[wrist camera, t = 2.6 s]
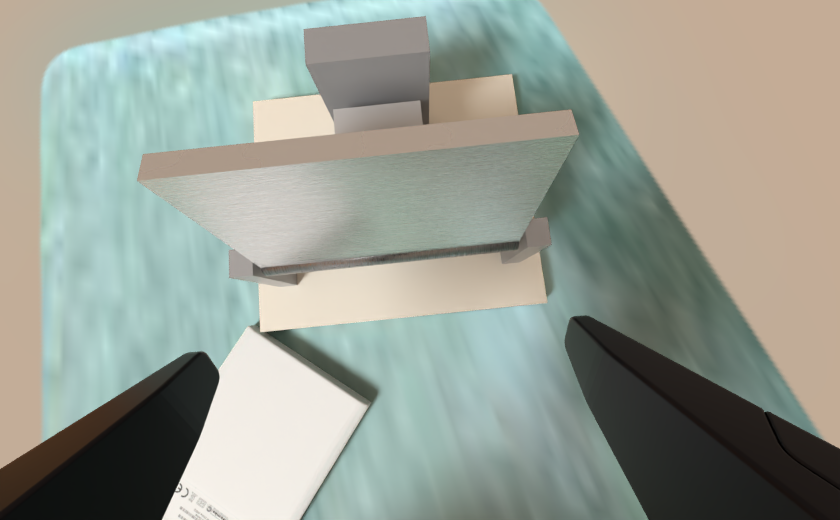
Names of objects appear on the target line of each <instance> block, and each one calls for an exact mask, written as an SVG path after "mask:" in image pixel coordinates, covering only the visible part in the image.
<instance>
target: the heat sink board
mask: <svg viewBox="0 0 840 520" xmlns="http://www.w3.org/2000/svg"><path fill="white" fill-rule="evenodd" d="M304 44H305V61H306V66H307V68H308V70H309V72H310V74H311V76H312V78H313V81H314V83H315V85H316V87H317V89H318V91H319V93H320V94H319V95H310V96H300V97H291V98H281V99H272V100H262V101H253V115H254V143H255V142H265V141H274V140H284V139H293V138H303V137H312V136H322V135H332V134H341V133H351V132H360V131H370V130H379V129H389V128H399V127H408V126H418V125H427V124H437V123H446V122H456V121H465V120H475V119H485V118H494V117H504V116H513V115H518V110H517V104H516V97H515V91H514V85H513V78H512V74H510V75H500V76H491V77H481V78H472V79H462V80H453V81H443V82H434V83H429V81H430V49H429V40H428V32H427V23H426V16H424V17H414V18H405V19H395V20H386V21H377V22H367V23H358V24H348V25H339V26H329V27H320V28H310V29H304ZM550 245H552V244H551V238H550V231H549V225H548V219H547V217H544V218H534V216H533V218H532V220H531V221H530V223H529V225H528V227H527V228H526V230H525V232H524V234H523V236H522V237H521V239H520V241H519V248H518V250H517V251H509V252H500V253H490V254H480V255H471V256H461V257H451V258H441V259H432V260H422V261H412V262H403V263H393V264H383V265H373V266H364V267H354V268H344V269H335V270H325V271H315V272H305V273H296V274H286V275H276V276H265V275H264V274H263V273H262V270H261V268H260V267H259V266H257V265H256V264H254V263H253V262H251V261H250V260H249V259H247V258H246V257H244V256H243V255H241V254H240V253H239V252H237V251H236V250H229V278H232V279H238V280H243V281H249V282H255V283H259V311H260V332H267V331H277V330H287V329H297V328H306V327H316V326H326V325H336V324H346V323H355V322H365V321H375V320H385V319H394V318H404V317H414V316H424V315H433V314H443V313H453V312H463V311H473V310H482V309H492V308H502V307H512V306H521V305H531V304H541V303H547V296H546V290H545V284H544V277H543V271H542V264H541V258H540V252H539V251H541V250H543V249H545V248H547V247H549V246H550Z"/></svg>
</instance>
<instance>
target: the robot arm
mask: <svg viewBox="0 0 840 520" xmlns="http://www.w3.org/2000/svg"><path fill="white" fill-rule="evenodd" d="M565 348H566V351H567V354H568V356H569V359H570V361H571V364H572V366H573V369H574V371H575V374H576V377H577V379H578V382H579V384H580V387H581V389H582V392H583V394H584V397H585V399H586V402H587V404H588V406H589V408H590V410H591V412H592V413H593V415H594V417H595V419H596V421H597V423H598V425H599V427H600V429H601V430H602V432H603V434H604V436H605V438H606V440H607V442H608V444H609V446H610V447H611V449H612V451H613V453H614V455H615V457H616V459H617V461H618V463H619V464H620V466H621V468H622V470H623V472H624V474H625V476H626V478H627V479H628V481H629V483H630V485H631V487H632V489H633V491H634V493H635V495H636V496H637V498H638V500H639V502H640V504H641V506H642V508H643V510H644V512H645V513H646V515H647V517H648V519H649V520H840V449H839V448H837V447H835V446H834V445H832V444H830V443H828V442H826V441H824V440H822V439H820V438H818V437H816V436H814V435H812V434H810V433H808V432H807V431H805V430H803V429H801V428H799V427H797V426H795V425H793V424H791V423H789V422H787V421H786V420H784V419H782V418H780V417H778V416H776V415H774V414H772V413H771V412H764V410H763V409H762V408H760V407H758V406H756V405H754V404H752V403H751V402H749V401H747V400H745V399H743V398H741V397H739V396H738V395H736V394H734V393H732V392H730V391H728V390H726V389H724V388H723V387H721V386H719V385H717V384H715V383H713V382H711V381H710V380H708V379H706V378H704V377H702V376H700V375H698V374H696V373H695V372H693V371H691V370H689V369H687V368H685V367H683V366H681V365H680V364H678V363H676V362H674V361H672V360H670V359H668V358H667V357H665V356H663V355H661V354H659V353H657V352H655V351H653V350H652V349H650V348H648V347H646V346H644V345H642V344H640V343H639V342H637V341H635V340H633V339H631V338H629V337H627V336H625V335H624V334H622V333H620V332H618V331H616V330H614V329H612V328H611V327H609V326H607V325H605V324H603V323H601V322H599V321H597V320H596V319H594V318H592V317H590V316H586V315H585V316H574V317H571V318H570V320H569V324H568V328H567V332H566V336H565ZM219 379H220V376H219V371H218V369H217V368H216V366H215V365H214V364H213V362H212V361H211V359H210V358H209V356H208V355H207V354H206V353H205V352H202V351H199V352H189V353H186V354H184V355H182V356H180V357H179V358H177V359H176V360H174V361H172V362H171V363H169V364H168V365H166V366H164V367H163V368H161V369H160V370H158V371H156V372H155V373H153V374H152V375H150V376H148V377H147V378H145V379H144V380H142V381H140V382H139V383H137V384H136V385H134V386H132V387H131V388H129V389H128V390H126V391H124V392H123V393H121V394H120V395H118V396H116V397H115V398H113V399H112V400H110V401H108V402H107V403H105V404H104V405H102V406H100V407H99V408H97V409H96V410H94V411H92V412H91V413H89V414H88V415H86V416H84V417H83V418H81V419H80V420H78V421H76V422H75V423H73V424H72V425H70V426H68V427H67V428H65V429H64V430H62V431H60V432H59V433H57V434H56V435H54V436H52V437H51V438H49V439H48V440H46V441H44V442H43V443H41V444H40V445H38V446H36V447H35V448H33V449H32V450H30V451H28V452H27V453H25V454H24V455H22V456H20V457H19V458H17V459H16V460H14V461H12V462H11V463H9V464H8V465H6V466H4V467H3V468H1V469H0V520H162V519H163V517H164V514H165V512H166V510H167V508H168V506H169V504H170V501H171V499H172V497H173V495H174V493H175V491H176V488H177V486H178V484H179V482H180V480H181V478H182V475H183V473H184V471H185V469H186V467H187V465H188V462H189V460H190V458H191V456H192V454H193V452H194V449H195V447H196V445H197V443H198V440H199V438H200V436H201V433H202V430H203V428H204V425H205V422H206V419H207V416H208V413H209V410H210V407H211V404H212V401H213V398H214V396H215V393H216V390H217V387H218V384H219Z"/></svg>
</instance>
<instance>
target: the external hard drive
mask: <svg viewBox="0 0 840 520" xmlns="http://www.w3.org/2000/svg"><path fill="white" fill-rule="evenodd" d="M218 371H219V376H220V379H219V384H218V387H217V390H216V393H215V396H214V398H213V401H212V404H211V407H210V410H209V413H208V416H207V419H206V422H205V425H204V428H203V430H202V433H201V436H200V438H199V440H198V443H197V445H196V447H195V449H194V452H193V454H192V456H191V458H190V460H189V462H188V465H187V467H186V469H185V471H184V473H183V475H182V478H181V480H180V482H179V484H178V486H177V488H176V491H175V493H174V495H173V497H172V499H171V501H170V504H169V506H168V508H167V510H166V512H165V514H164V517H163V519H162V520H300V519H301V517H302V516H303V514H304V512H305V511H306V509H307V507H308V506H309V504H310V502H311V501H312V499H313V497H314V496H315V494H316V493H317V491H318V489H319V488H320V486H321V484H322V483H323V481H324V479H325V478H326V476H327V475H328V473H329V471H330V470H331V468H332V466H333V465H334V463H335V461H336V460H337V458H338V456H339V455H340V453H341V452H342V450H343V448H344V447H345V445H346V443H347V442H348V440H349V438H350V437H351V435H352V433H353V432H354V430H355V429H356V427H357V425H358V424H359V422H360V420H361V419H362V417H363V415H364V414H365V412H366V410H367V409H368V407H369V405H370V404H371V402H370V401H369V400H367V399H366V398H364V397H363V396H361V395H360V394H358V393H357V392H355V391H354V390H352V389H350V388H349V387H347V386H346V385H344V384H343V383H341V382H340V381H338V380H337V379H335V378H334V377H332V376H331V375H329V374H328V373H326V372H325V371H323V370H322V369H320V368H319V367H317V366H316V365H314V364H313V363H311V362H310V361H308V360H307V359H305V358H304V357H302V356H301V355H299V354H298V353H296V352H295V351H293V350H292V349H290V348H289V347H287V346H286V345H284V344H283V343H281V342H280V341H278V340H277V339H275V338H274V337H272V336H271V335H269V334H268V333H266V332H260V328H259V327H257V326H256V325H252V326H248V327H247V328H246V330H245V331H244V333H243V334H242V336H241V337H240V339H239V340H238V342H237V343H236V344H235V346H234V347H233V349H232V350H231V352H230V354H229V355H228V357H227V358H226V360H225V361H224V363H223V364H222V365H221V367H220V368H219V370H218Z"/></svg>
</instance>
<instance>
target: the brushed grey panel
mask: <svg viewBox="0 0 840 520" xmlns="http://www.w3.org/2000/svg"><path fill="white" fill-rule="evenodd" d="M578 136H579V132H578V129H577V126H576V123H575V119H574V116H573V113H572V110H561V111H551V112H542V113H532V114H523V115H513V116H504V117H494V118H485V119H475V120H465V121H456V122H446V123H437V124H427V125H418V126H408V127H399V128H389V129H379V130H370V131H360V132H351V133H341V134H332V135H322V136H312V137H303V138H293V139H284V140H274V141H265V142H255V143H246V144H236V145H226V146H217V147H207V148H198V149H188V150H179V151H169V152H160V153H150V154H143V156H142V161H141V165H140V169H139V174H138V178H137V181H138V182H139V183H141V184H142V185H144V186H145V187H146V188H148V189H149V190H151V191H152V192H153V193H155V194H156V195H158V196H159V197H161V198H162V199H163V200H165V201H166V202H168V203H169V204H171V205H172V206H173V207H175V208H176V209H178V210H179V211H180V212H182V213H183V214H185V215H186V216H188V217H189V218H190V219H192V220H193V221H195V222H196V223H197V224H199V225H200V226H202V227H203V228H205V229H206V230H207V231H209V232H210V233H212V234H213V235H215V236H216V237H217V238H219V239H220V240H222V241H223V242H224V243H226V244H227V245H229V246H230V247H232V248H233V249H234V250H236V251H237V252H239V253H240V254H241V255H243V256H244V257H246V258H247V259H249V260H250V261H251V262H253V263H254V264H256V265H257V266H259V267H260V268H261V270H262V273H263V274H264V275H265V276H276V275H286V274H296V273H305V272H315V271H325V270H335V269H344V268H354V267H364V266H373V265H383V264H393V263H403V262H412V261H422V260H432V259H441V258H451V257H461V256H471V255H480V254H490V253H500V252H509V251H517V250H518V248H519V241H520V239H521V237H522V236H523V234H524V232H525V230H526V228H527V227H528V225H529V223H530V221H531V220H532V218H533V216H534V214H535V212H536V211H537V209H538V207H539V205H540V204H541V202H542V200H543V198H544V197H545V195H546V193H547V191H548V189H549V188H550V186H551V184H552V182H553V181H554V179H555V177H556V175H557V173H558V172H559V170H560V168H561V166H562V165H563V163H564V161H565V159H566V158H567V156H568V154H569V152H570V150H571V149H572V147H573V145H574V143H575V142H576V140H577V138H578Z"/></svg>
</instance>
